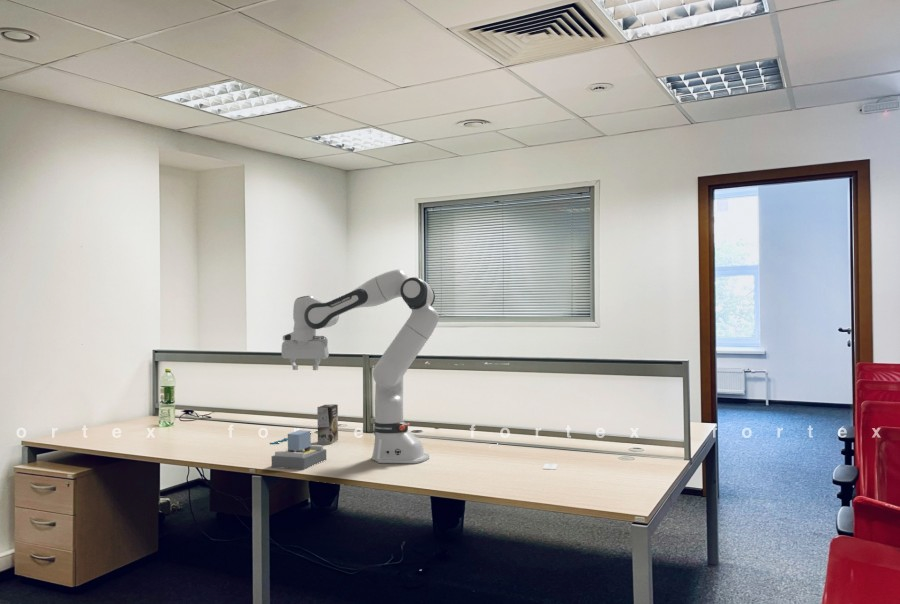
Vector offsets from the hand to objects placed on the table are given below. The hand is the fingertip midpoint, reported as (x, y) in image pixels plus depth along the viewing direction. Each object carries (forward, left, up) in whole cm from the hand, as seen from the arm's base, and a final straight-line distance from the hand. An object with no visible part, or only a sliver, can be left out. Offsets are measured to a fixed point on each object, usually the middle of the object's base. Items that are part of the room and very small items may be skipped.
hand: (305, 370), depth 271 cm
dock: (-6, +15, -34) cm, 38 cm away
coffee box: (+4, -24, -34) cm, 42 cm away
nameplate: (+24, -32, -35) cm, 53 cm away
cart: (-6, +15, -30) cm, 34 cm away
